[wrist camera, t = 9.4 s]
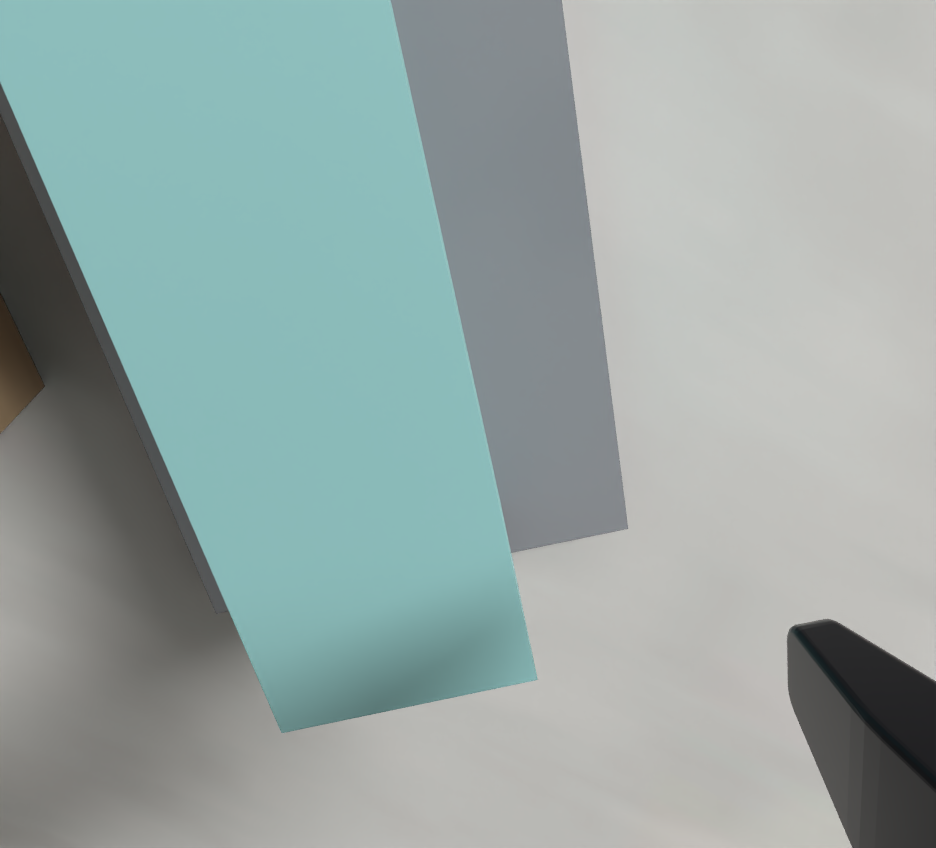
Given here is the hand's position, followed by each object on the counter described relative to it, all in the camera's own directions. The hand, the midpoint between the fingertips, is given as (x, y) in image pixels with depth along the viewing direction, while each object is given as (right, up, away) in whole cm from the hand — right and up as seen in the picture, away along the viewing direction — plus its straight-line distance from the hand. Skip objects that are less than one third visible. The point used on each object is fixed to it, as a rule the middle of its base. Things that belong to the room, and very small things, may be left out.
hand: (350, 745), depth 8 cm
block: (-1, +6, +6) cm, 9 cm away
